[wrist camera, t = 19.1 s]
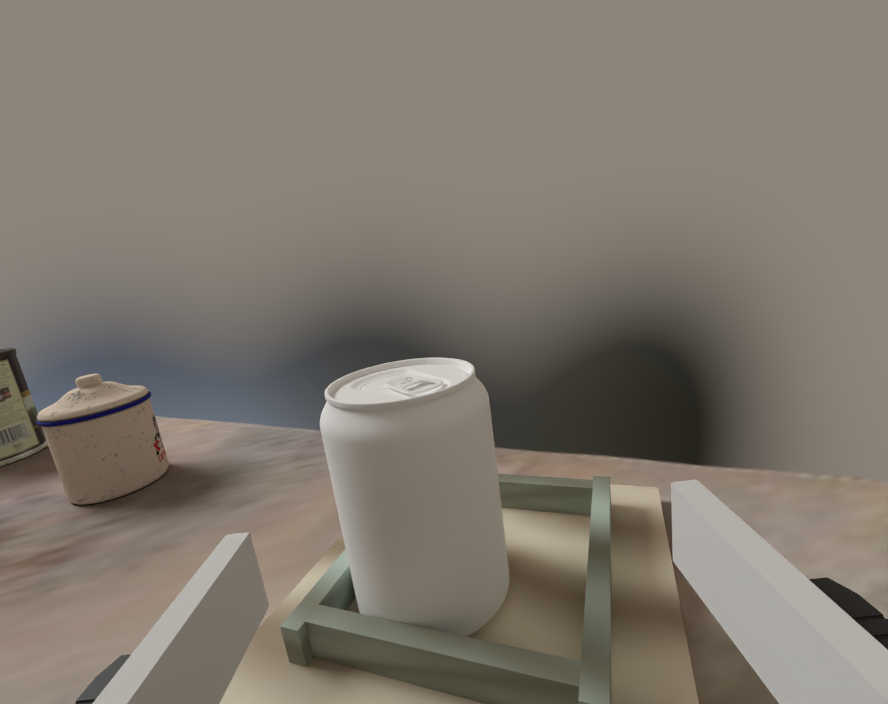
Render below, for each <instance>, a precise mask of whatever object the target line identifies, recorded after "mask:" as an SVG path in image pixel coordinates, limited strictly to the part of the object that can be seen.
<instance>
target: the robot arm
mask: <svg viewBox="0 0 888 704" xmlns="http://www.w3.org/2000/svg"><path fill="white" fill-rule="evenodd" d="M671 503H672V550H673V562H674V563H675V565H676V566H677V567H678V569H679V570H680V571H681V573H682V574H683V575H684V577H685V578H686V579H687V581H688V582H689V583H690V585H691V586H692V587H693V589H694V590H695V591H696V593H697V594H698V595H699V597H700V598H701V599H702V601H703V602H704V604H705V605H706V606H707V608H708V609H709V610H710V612H711V613H712V614H713V616H714V617H715V618H716V620H717V621H718V622H719V624H720V625H721V626H722V628H723V629H724V630H725V632H726V633H727V634H728V636H729V637H730V638H731V640H732V641H733V642H734V644H735V645H736V647H737V648H738V649H739V651H740V652H741V653H742V655H743V656H744V657H745V659H746V660H747V661H748V663H749V664H750V665H751V667H752V668H753V669H754V671H755V672H756V673H757V675H758V676H759V677H760V679H761V680H762V681H763V683H764V684H765V685H766V687H767V688H768V689H769V691H770V692H771V694H772V695H773V696H774V698H775V699H776V700H777V702H778V703H779V704H888V619H885V618H884V617H883V614H882V613H880V612H879V611H878V610H877V609H875V608H874V607H873V606H872V605H871V604H869V603H868V602H867V601H866V600H864V599H863V598H862V597H861V596H860V595H858V594H857V593H855V592H853V591H851V590H849V589H848V588H846V587H844V586H842V585H840V584H838V583H836V582H835V581H833V580H831V579H829V578H818V579H808V578H806V577H805V576H804V575H803V574H802V573H801V572H800V571H799V570H798V569H796V568H795V567H794V566H793V565H792V564H791V563H790V562H789V561H787V560H786V559H785V558H784V557H783V556H782V555H781V554H780V553H778V552H777V551H776V550H775V549H774V548H773V547H772V546H771V545H769V544H768V543H767V542H766V541H765V540H764V539H763V538H762V537H760V536H759V535H758V534H757V533H756V532H755V531H754V530H753V529H751V528H750V527H749V526H748V525H747V524H746V523H745V522H744V521H742V520H741V519H740V518H739V517H738V516H737V515H736V514H735V513H733V512H732V511H731V510H730V509H729V508H728V507H727V506H726V505H725V504H723V503H722V502H721V501H720V500H719V499H718V498H717V497H716V496H714V495H713V494H712V493H711V492H710V491H709V490H708V489H707V488H705V487H704V486H703V485H702V484H701V483H700V482H699V481H698V480H689V481H681V482H672V483H671ZM268 607H269V603H268V599H267V596H266V592H265V588H264V584H263V580H262V577H261V573H260V569H259V565H258V562H257V558H256V554H255V550H254V546H253V543H252V539H251V535H250V532H247V533H238V534H230V535H226V536H225V537H224V538H223V539H222V541H221V542H220V543H219V544H218V546H217V547H216V548H215V549H214V551H213V552H212V553H211V554H210V556H209V557H208V558H207V560H206V561H205V562H204V563H203V565H202V566H201V567H200V568H199V570H198V571H197V572H196V573H195V575H194V576H193V577H192V578H191V580H190V581H189V582H188V584H187V585H186V586H185V587H184V589H183V590H182V591H181V592H180V594H179V595H178V596H177V597H176V599H175V600H174V601H173V602H172V604H171V605H170V606H169V607H168V609H167V610H166V611H165V613H164V614H163V615H162V616H161V618H160V619H159V620H158V621H157V623H156V624H155V625H154V626H153V628H152V629H151V630H150V631H149V633H148V634H147V635H146V636H145V638H144V639H143V640H142V642H141V643H140V644H139V645H138V647H137V648H136V649H135V650H134V652H133V653H132V654H131V655H122V656H120V657H119V658H118V659H117V660H115V661H114V662H113V663H112V664H111V665H109V666H108V667H107V668H106V669H105V670H104V671H102V672H101V673H100V674H99V675H98V676H96V677H95V679H94V680H93V681H92V682H91V683H90V685H89V686H88V687H87V688H86V689H85V691H84V692H83V693H82V694H81V695H80V697H79V698H78V699H77V700H76V704H219V703H220V702H221V700H222V698H223V696H224V694H225V692H226V690H227V688H228V686H229V684H230V682H231V680H232V678H233V676H234V674H235V672H236V670H237V668H238V666H239V664H240V662H241V660H242V658H243V656H244V654H245V652H246V650H247V648H248V646H249V644H250V642H251V641H252V639H253V637H254V635H255V633H256V631H257V629H258V627H259V625H260V623H261V621H262V619H263V617H264V615H265V613H266V611H267V609H268Z"/></svg>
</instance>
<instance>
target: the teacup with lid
mask: <svg viewBox="0 0 888 704" xmlns="http://www.w3.org/2000/svg"><path fill="white" fill-rule="evenodd" d="M75 383H76V385H77V387H79V388H76V389H74V390H71V391H69V392H68V393H66V394H65V395H64V396H63V397H62V398H61V399H60V400H59V401H57V402H56V403H55V404H53V405H51V406H49V407H47V408H45V409H43V410H42V411H41V412H39V414H38V415H37V421H36V423H37V425H39V426H41V427H42V429H43V432H44V435H45V438H46V441H47V443H48V446H49V449H50V452H51V454H52V457H53V460H54V463H55V465H56V468H57V471H58V474H59V476H60V479H61V482H62V485H63V487H64V490H65V493H66V496H67V498H68V500H69V501H70V502H71V503H74V504H80V505H86V504H94V503H100V502H104V501H108V500H112V499H115V498H118V497H121V496H124V495H127V494H129V493H132V492H134V491H137V490H139V489H141V488H143V487H145V486H147V485H149V484H150V483H152V482H154V481H155V480H157V479H158V478H160V477H161V476H162V475H163V474H164V473H165V472H166V471H167V469H168V467H169V462H168V459H167V455H166V452H165V449H164V445H163V442H162V439H161V435H160V432H159V429H158V425H157V422H156V419H155V415H154V412H153V409H152V406H151V402H150V399H149V398H150V396H151V393H150V392H149V391H148V389H147V388H145V387H143V386H128V385H123V384H120V383H116V382H102V379H101V376H100V375H99V374H90V375H86V376H82V377H79V378H77V379H76V381H75Z"/></svg>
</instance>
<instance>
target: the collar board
mask: <svg viewBox="0 0 888 704" xmlns="http://www.w3.org/2000/svg"><path fill="white" fill-rule="evenodd" d="M498 481H499V490H500V498H501V507H502V516H503V524H504V533H505V541H506V550H507V558H508V567H509V587H508V592H507V595H506V597H505V599H504V602H503V603H502V605H501V607H500V608H499V610H498V611H497V613H496V614H495V615H494V616H493V617H492V618H491V619H490V620H489V621H488V622H487V623H486V624H485V625H484V626H482V627H481V628H480V629H478V630H477V631H475V632H474V633H472V634H470V635H469V636H462V635H457V634H453V633H448V632H443V631H439V630H434V629H430V628H425V627H420V626H416V625H411V624H406V623H402V622H397V621H392V620H388V619H383V618H379V617H374V616H369V615H365V614H360V612H359V609H358V604H357V600H356V595H355V590H354V586H353V581H352V576H351V571H350V567H349V562H348V557H347V552H346V548H345V543H344V538H343V534H342V535H341V537H340V538H339V539H338V540H337V541H336V542H335V543H334V544H333V546H332V547H331V548H330V549H329V550H328V551H327V552H326V553H325V555H324V556H323V557H322V558H321V559H320V560H319V561H318V562H317V564H316V565H315V566H314V567H313V568H312V569H311V570H310V571H309V572H308V574H307V575H306V576H305V577H304V578H303V579H302V580H301V581H300V583H299V584H298V585H297V586H296V587H295V588H294V589H293V590H292V592H291V593H290V594H289V595H288V596H287V597H286V598H285V599H284V601H283V602H282V603H281V604H280V605H279V606H278V607H277V608H276V610H275V611H274V612H273V613H272V614H271V615H270V616H269V617H268V619H267V620H266V621H265V622H264V623H263V624H262V625H261V626H260V628H259V629H258V630H257V631H256V633H255V635H254V637H253V639H252V641H251V642H250V644H249V646H248V648H247V650H246V652H245V654H244V656H243V658H242V660H241V662H240V664H239V666H238V668H237V670H236V672H235V674H234V676H233V678H232V680H231V682H230V684H229V686H228V688H227V690H226V692H225V694H224V696H223V698H222V700H221V702H220V703H219V704H699V701H698V696H697V690H696V685H695V680H694V675H693V669H692V664H691V659H690V654H689V648H688V643H687V638H686V633H685V627H684V622H683V617H682V612H681V606H680V601H679V596H678V590H677V585H676V580H675V575H674V569H673V564H672V559H671V554H670V548H669V543H668V538H667V533H666V527H665V522H664V517H663V512H662V506H661V501H660V496H659V490H658V487H643V486H628V485H613V484H610V477H601V476H593V480H585V479H570V478H554V477H538V476H523V475H507V474H498Z"/></svg>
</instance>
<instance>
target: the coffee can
mask: <svg viewBox="0 0 888 704" xmlns="http://www.w3.org/2000/svg"><path fill="white" fill-rule="evenodd" d="M37 415H38V413H37V411H36V408H35V405H34V403H33V400H32V398H31V395H30V392H29V389H28V387H27V384H26V381H25V378H24V375H23V373H22V370H21V368H20V365H19V362H18V360H17V357H16V350H15V349H13V348H9V349H0V467H1V466H4V465H7V464H10V463H13V462H15V461H18V460H21V459H23V458H26V457H28V456H30V455H32V454H35V453H37V452H39V451H40V450H42V449H44V448H45V447H47V446H48V443H47V441H46V438H45V435H44V432H43V429H42V427H41V426H39V425H37V423H36V421H37Z"/></svg>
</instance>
